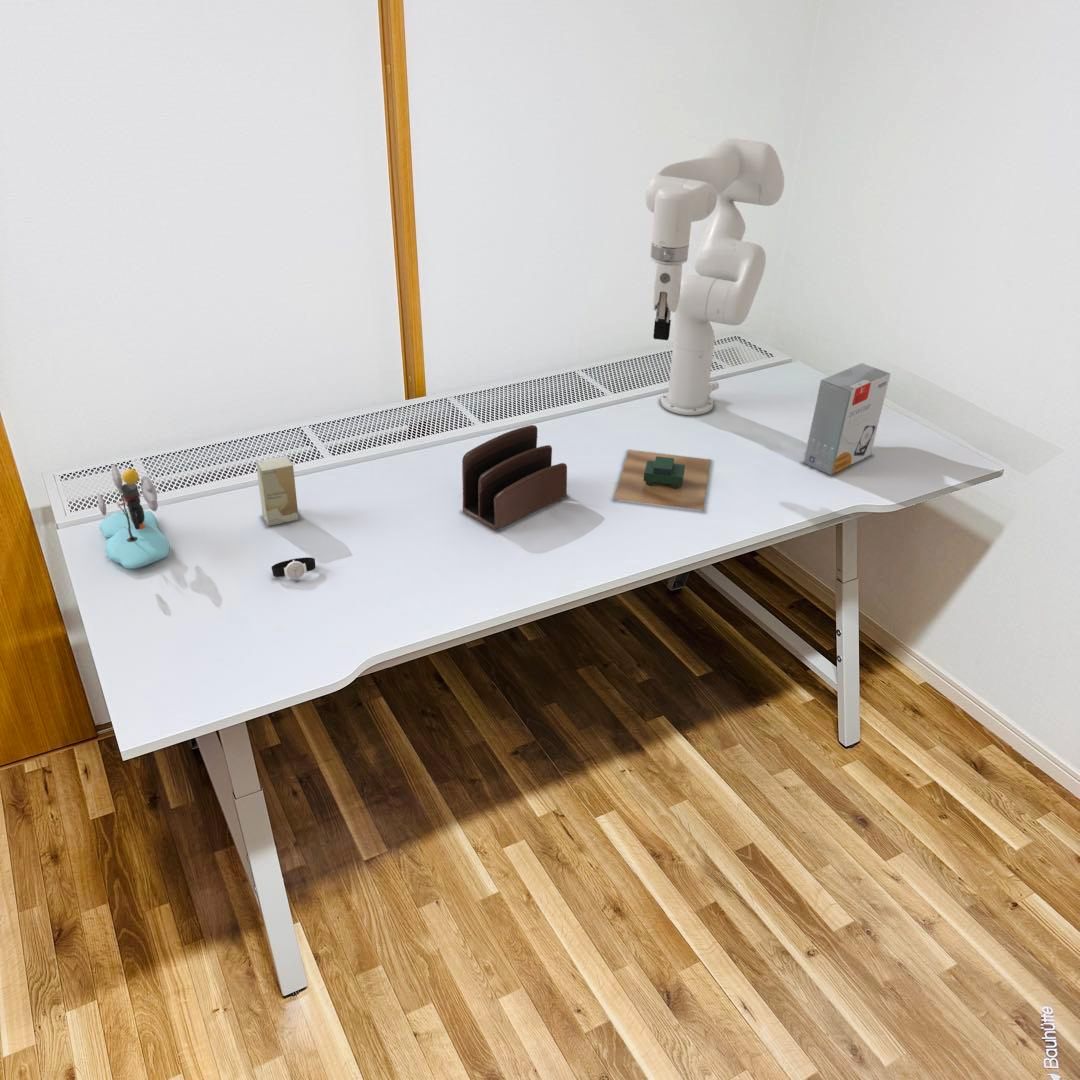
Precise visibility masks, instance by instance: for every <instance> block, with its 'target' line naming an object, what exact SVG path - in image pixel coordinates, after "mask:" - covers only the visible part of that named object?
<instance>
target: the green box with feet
mask: <svg viewBox="0 0 1080 1080" xmlns="http://www.w3.org/2000/svg"><path fill="white" fill-rule="evenodd" d="M684 470H685V465H682V464H674V458H667V457H659V456H656V459H655V461H649V460H647V464H646V468H645V471H644V480H643V481H646V484H647V485H648V486H652V485H654V482H656V483H664V484H671V487H672V488H673V489H677V488H679V485H680V486H682V482H683V477H684Z"/></svg>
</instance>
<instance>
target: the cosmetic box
mask: <svg viewBox="0 0 1080 1080" xmlns="http://www.w3.org/2000/svg"><path fill="white" fill-rule="evenodd" d="M255 464H256V473H257V481H258V488H259V496H260V497H259V498H260V504H261V513H262V517H263V520H264V521H265V523H266V525H267V526H274V525H279V524H283V523H284V524H285V523H289V522H293V521H298V520H299V519H300V518H299V509H298V499H297V491H296V490H297V489H296V480H295V470H294V464H293V462H292V460H291V458H290V457H289V456H288V455H285V456H279V457H272V458H271V457H270V458H267V459H263V460H255Z"/></svg>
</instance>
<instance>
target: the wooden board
mask: <svg viewBox="0 0 1080 1080" xmlns="http://www.w3.org/2000/svg"><path fill="white" fill-rule="evenodd" d="M656 456H659V457H667V458H674V464H682V465H685V470H684V477H683V482H682V486H680V485H679V488H677V489H673V488H672V487H671V484H664V483H656V482H654V485H652V486H648V485H647V484H646V481H643V480H644V471H645V468H646V464H647V460H649V461H655V459H656ZM710 466H711V459H707V458H700V457H693V456H692V457H690V456H683V455H674V454H665V453H657V452H649V451H641V450H634V449H629V450H628V452H627V455H626V459H625V462H624V465H623V469H622V471H621V472H622V473H621V474H620V475H621V476H620V478H619V482H618V484H617V485H618V486H617V489H616V492H615V495H614V499H613V500H617V501H618V500H620V501H625V502H634V503H642V504H649V505H656V506H657V505H658V506H665V507H671V508H679V509H688V510H695V511H701V512H702V511H704V507H705V500H706V494H707V493H706V492H707V485H708V480H709V479H708V478H709V473H710V472H709V471H710Z"/></svg>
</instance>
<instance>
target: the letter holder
mask: <svg viewBox="0 0 1080 1080" xmlns="http://www.w3.org/2000/svg"><path fill="white" fill-rule="evenodd" d="M538 431H539V430H538V426H537V425H534V424H531V425H530V424H529V425H527V426H522V427H519V428H515V429H512V430H510V431H507V432H504V433H502V434H499V435H498V436H495V437H493V438H491V439H489V440H487V441H485V442H483V443H481V444H479V445H478V446H476V447H474V448H472V449H470V450H469V451H467V452H466V453H465V454H464V455H463V457H462V463H461V465H462V466H461V468H462V471H461V472H462V473H461V474H462V476H461V477H462V479H461V480H462V512H463V514H466V515H468V516H470V517H471V518H473V519H475V520H476V521H478V522H480V523H481V524H483V525H485V526H486V527H488V528H490V529H491V530H493V531H499V530H500V529H503V528H504V527H506V526H508V525H511V524H513V523H516V522H517V521H518V520H520V519H522V518H525V517H527V516H529V515H531V514H533V513H535V512H537V511H539V510H541V509H544V508H546V507H547V506H549V505H551V504H554V503H556V502H557V501H559V500H561V499H564V498H565V497H567V496H568V466H567V463H565V462H561V463H558V464H554V465H553V464H552V462H553V461H552V459H553V456H552V455H553V447H552V446H551V445H550V444H549V445H542V446H539V447H538Z"/></svg>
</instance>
